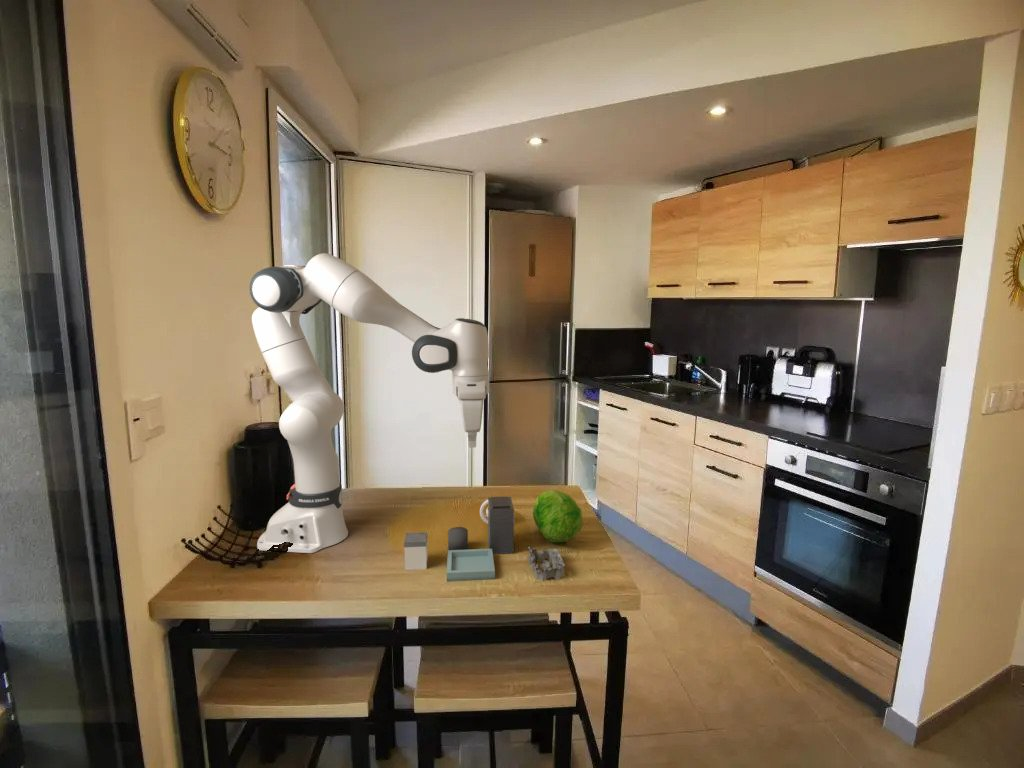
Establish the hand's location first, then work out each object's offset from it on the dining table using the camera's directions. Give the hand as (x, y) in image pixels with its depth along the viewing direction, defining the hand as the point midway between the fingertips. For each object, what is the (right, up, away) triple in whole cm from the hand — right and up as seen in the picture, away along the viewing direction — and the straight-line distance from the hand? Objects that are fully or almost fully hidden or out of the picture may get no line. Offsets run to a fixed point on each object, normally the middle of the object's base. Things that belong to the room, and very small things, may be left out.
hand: (471, 441), depth 128 cm
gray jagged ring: (+18, -31, -3) cm, 36 cm away
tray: (0, -30, -3) cm, 30 cm away
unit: (+7, -28, +8) cm, 30 cm away
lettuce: (+22, -28, +15) cm, 38 cm away
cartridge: (-13, -30, -2) cm, 33 cm away
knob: (-4, -29, +6) cm, 29 cm away
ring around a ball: (+5, -27, +20) cm, 34 cm away
